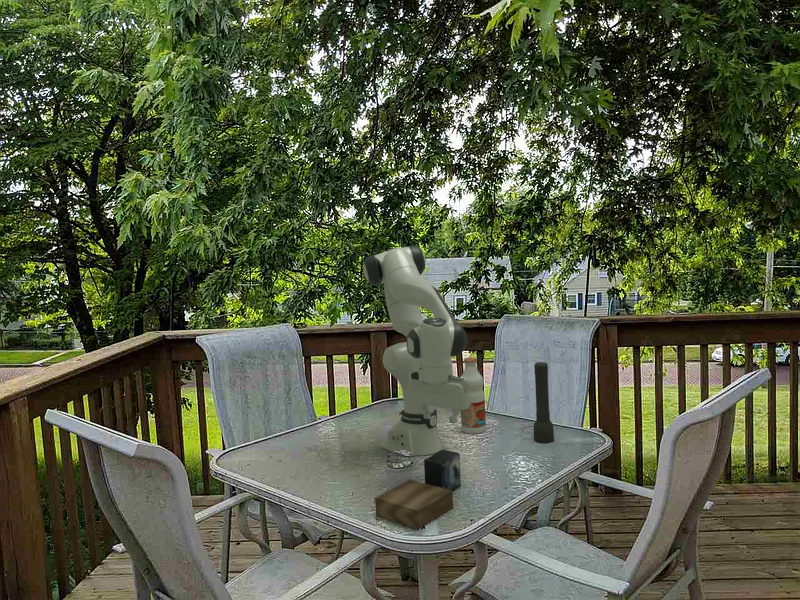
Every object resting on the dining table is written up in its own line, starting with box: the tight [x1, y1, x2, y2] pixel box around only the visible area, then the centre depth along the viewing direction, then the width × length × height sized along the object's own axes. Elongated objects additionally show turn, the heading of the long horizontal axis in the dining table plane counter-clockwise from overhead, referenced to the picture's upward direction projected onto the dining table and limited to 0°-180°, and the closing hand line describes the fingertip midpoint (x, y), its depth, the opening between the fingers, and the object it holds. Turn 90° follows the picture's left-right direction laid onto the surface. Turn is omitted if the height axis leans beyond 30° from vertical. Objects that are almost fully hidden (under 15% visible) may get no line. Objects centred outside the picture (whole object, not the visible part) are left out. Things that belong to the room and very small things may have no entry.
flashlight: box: [533, 361, 555, 444], centre depth 220 cm, size 7×28×7 cm
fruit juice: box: [460, 357, 487, 435], centre depth 236 cm, size 9×9×28 cm
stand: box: [374, 479, 454, 530], centre depth 169 cm, size 15×15×5 cm
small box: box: [423, 449, 462, 492], centre depth 182 cm, size 11×6×10 cm, turn 143°
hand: (440, 420), depth 181 cm, fingers open, 8 cm apart
